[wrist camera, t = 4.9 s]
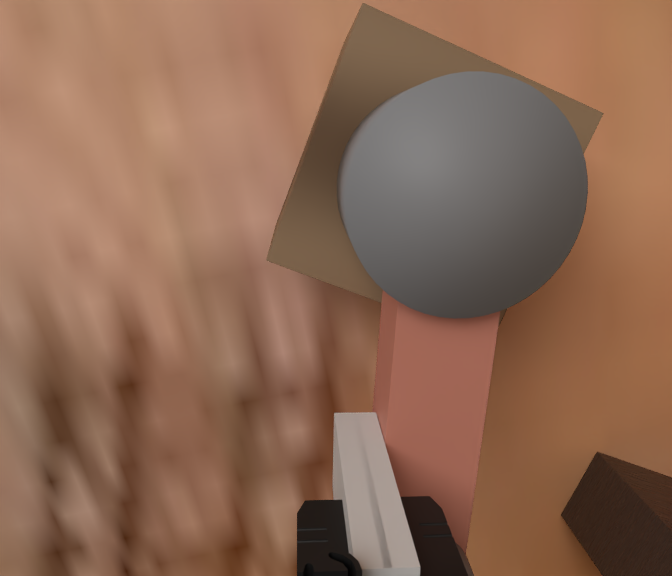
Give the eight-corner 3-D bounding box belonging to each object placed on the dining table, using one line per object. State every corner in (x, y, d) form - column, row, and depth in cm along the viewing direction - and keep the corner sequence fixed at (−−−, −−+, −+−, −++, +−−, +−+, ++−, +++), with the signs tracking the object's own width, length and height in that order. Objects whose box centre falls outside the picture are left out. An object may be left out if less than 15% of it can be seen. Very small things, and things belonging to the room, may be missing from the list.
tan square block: (440, 288, 25) (490, 343, 19) (275, 225, 24) (266, 260, 17) (517, 119, 24) (603, 113, 17) (344, 42, 22) (363, 2, 16)
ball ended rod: (342, 77, 16) (363, 49, 11) (544, 91, 16) (658, 71, 11) (315, 548, 20) (321, 693, 15) (476, 549, 21) (536, 689, 15)
